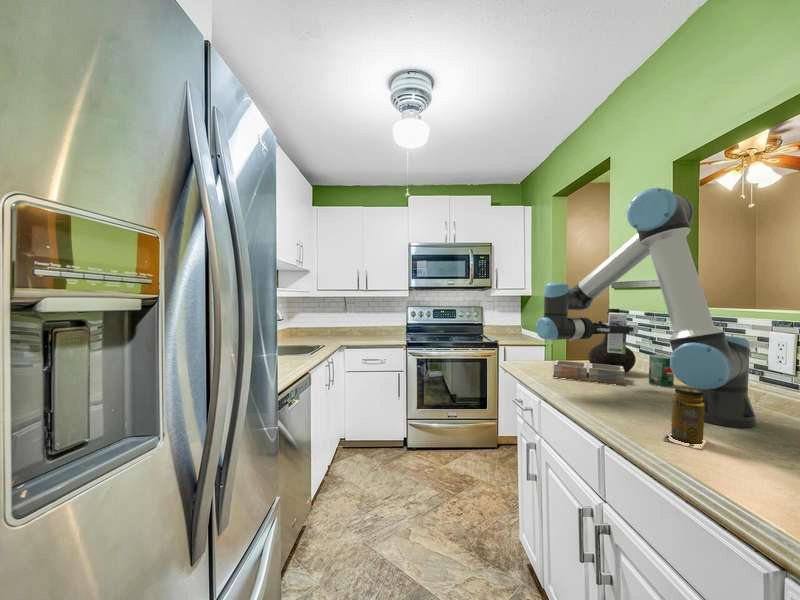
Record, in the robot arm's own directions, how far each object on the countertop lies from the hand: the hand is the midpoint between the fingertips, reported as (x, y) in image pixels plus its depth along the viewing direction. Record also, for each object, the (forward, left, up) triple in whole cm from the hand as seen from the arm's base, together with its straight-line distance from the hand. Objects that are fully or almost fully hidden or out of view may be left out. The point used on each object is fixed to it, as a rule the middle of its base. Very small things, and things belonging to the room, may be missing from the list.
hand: (626, 327), depth 142 cm
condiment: (-55, -9, -22) cm, 60 cm away
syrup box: (-3, +3, -9) cm, 10 cm away
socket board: (+8, +12, -22) cm, 26 cm away
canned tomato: (+10, -13, -22) cm, 27 cm away
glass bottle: (+26, +3, -22) cm, 34 cm away
